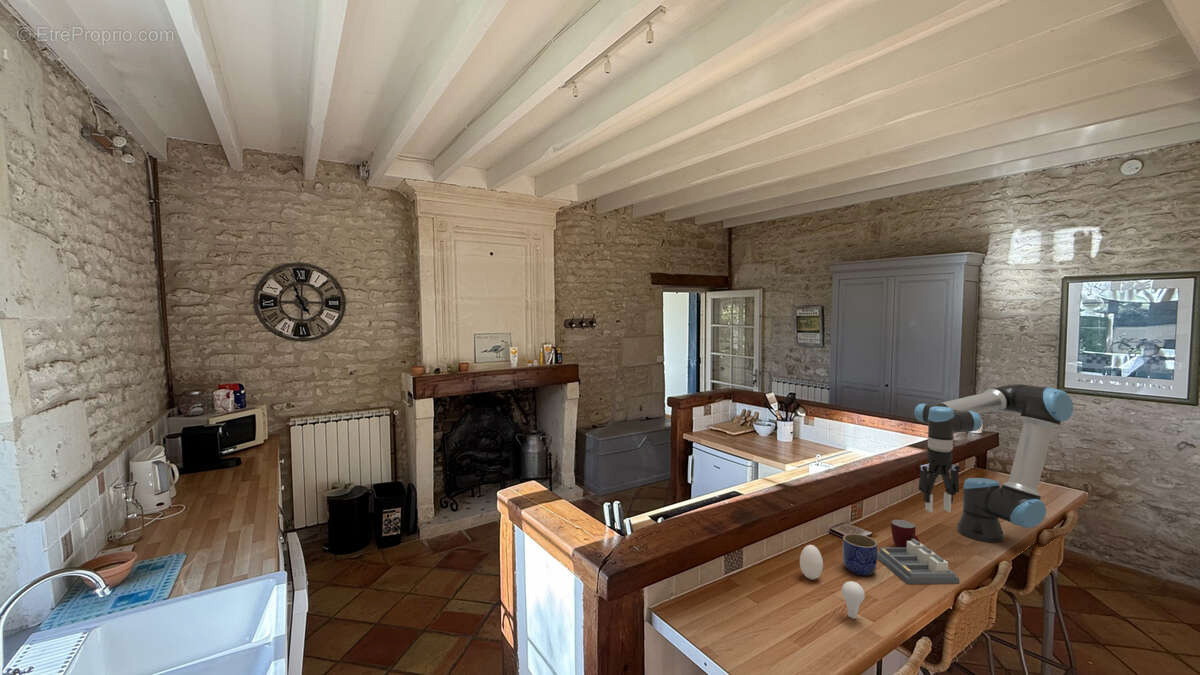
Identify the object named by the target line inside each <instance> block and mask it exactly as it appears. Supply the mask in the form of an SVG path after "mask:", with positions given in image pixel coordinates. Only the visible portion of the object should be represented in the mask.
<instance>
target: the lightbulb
mask: <svg viewBox="0 0 1200 675" xmlns="http://www.w3.org/2000/svg"><path fill="white" fill-rule="evenodd" d="M841 593H842V596H843V599H844V600H845V603H846V609H847V615H848V617H849V618H850V619H854V620H855V619H857V618H858V613H859V610H860V606H861V604H862V602H864V600H865V597H866V596H865V595H866V594H865V589H863V587H862V585H860V584H859V583H858V582H856V581H852V580H851V581H850V580H849V581H846V582H845V583H843V585H842V586H841Z"/></svg>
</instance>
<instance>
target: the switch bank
mask: <svg viewBox="0 0 1200 675" xmlns="http://www.w3.org/2000/svg"><path fill="white" fill-rule="evenodd" d="M906 552H907V547H903V548H897V547H879V551H877V560H878V561H879V562H880V563H882V564H883V565H885V566H886V568H888V569H889V570H890V571H891V572H892V573H894V575H896V576H897V577H898V578H899V579H900V580H901V581H902V582H904V583H905V584H906V585H917V584H918V585H920V584H922V585H923V584H929V585H931V584H935V585H936V584H941V585H942V584H960V577H959V576H958V575H956V573H955V572H954V571H952V570H951V569H950V568H948V572H931V571H930V570H928V566H929V563H919V562H918V561H917V555H909V554H908V553H906Z"/></svg>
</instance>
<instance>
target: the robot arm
mask: <svg viewBox="0 0 1200 675" xmlns="http://www.w3.org/2000/svg"><path fill="white" fill-rule="evenodd" d="M991 411H992V412H996V413H999V412H1013V413H1019V414H1020V419H1021V420H1022V421H1023V425H1022V428H1021V431H1020V432H1021V433H1020V436H1019V440H1018V445H1017V448H1016V452H1015V455H1014V458H1013V463H1012V467H1011V470H1010V474H1009V478H1008V481H1005V482H1003V483H1002V484H1001V483H1000V481H998V480H995V479H992V478H984V477H968V478H967V479H965V480H964V482H963V489H962V490H963V496H962V497H963V498H962V503H963V504H962V508H963V509H962V514H961V516H960V518H959V521H958V522H957V526H956V528H957V532H958V533H959V534H961V535H963V536H965V537H967V538H970V539H973V540H975V541H980V542H981V541H982V542H985V543H986V542H987V543H1001V542H1003V541H1004V531H1003V529H1002V525H1001V523H1000V520H999V519H1001V520H1004V521H1006V522H1009V523H1011V524H1013V525H1016V526H1019V527H1023V528H1025V529H1030V528H1031V529H1032V528H1034V527H1036V526H1038V525H1040V524H1041V523H1042V522H1043V520H1044V519H1045V517H1046V515H1047V508H1046V504H1045V503H1044V502H1043V501H1042V500H1041V498H1042V494H1041V493H1040V492H1039V490H1038V488H1039V484H1040V481H1041V480H1040V479H1041V476H1042V473H1043V469H1044V467H1045V461H1046V458H1047V454H1048V451H1049V446H1050V443H1051V439H1052V435H1053V432H1054V430H1055V429H1056V428H1059V427H1061V423H1062V422H1065V421H1068V420H1069V419H1070V418H1071V417H1072V415H1073V412H1074V403H1073V400H1072V399H1071V396H1070V395H1069V394H1068V393H1067V392H1066V391H1064V390H1062V389H1057V388H1053V387H1047V386H1037V385H1031V384H1019V383H1017V384H1008V385H1002V386H997V387H992V388H989V389H986V390H985V391H984V392H981V393H976V394H974V395H969V396H965V397H960V398H956V399H952V400H947V401H943V402H939V403H933V404H929V403H919V404H917V406H915V409H914V412H913V413H914V417H915V419H916V420H917V421H919V422H921V423H924V424H927V425H928V426H927V429H928V430H927V431H928V432H927V434H928V435H927V447H928V448H927V452H926V456H927V463H926V464H919V466H918V467H919V471H920V472H919V480H918V491H919V492H922V493H923V502H925V511H927V512H929V513H933V512H934V511H933V504H934V495H933V494H932V492H933V488H934V485H935V482H936V479H937V478H938V477H939V476H940V475H941V477H942V480H943V485H944V489H945V491H946V492H945V491H944V492H943V510H944V511H946V512H947V513H951V511H952V503H953V502H954V496H955V495H956V494H958V493H959V492H960V484H959V482H960V481H959V472H960V469H961V467H960V466H959V465H956V464H953V463H952V461H953V449H954V447H953V446H954V433H956V434H957V433H970V432H976V431H979V430H980V429H981V428H982V425H983V421H982V420H983V419H982V416H981V415H980V414H985V413H989V412H991Z"/></svg>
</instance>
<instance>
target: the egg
mask: <svg viewBox="0 0 1200 675" xmlns="http://www.w3.org/2000/svg"><path fill="white" fill-rule="evenodd" d="M823 561H824V560H823V556H822V554H821V552H820V550H819V549H818V547H816V545H813V544H807V545H806V546H805V547H803V549H802V551H801V552H800V556H799V567H800V570H801V572H802V574H803V575H804V576H805V577H806V578H807V579H809V580H816V579H818V578H819V577H821V575H822V572H823V570H824V569H823V568H824V562H823Z"/></svg>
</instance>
